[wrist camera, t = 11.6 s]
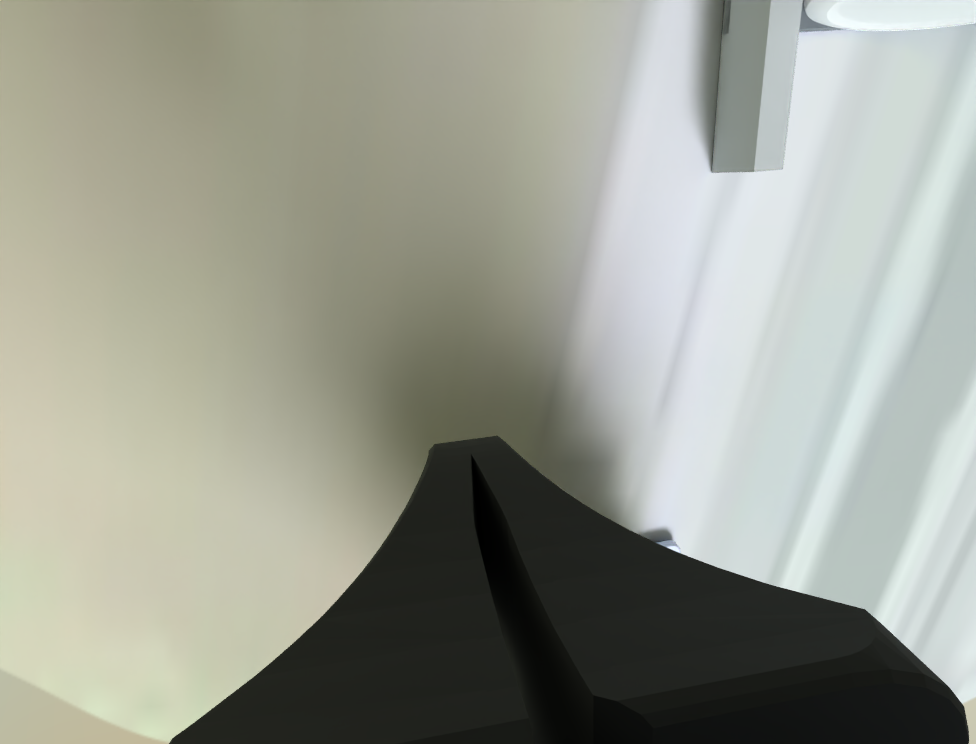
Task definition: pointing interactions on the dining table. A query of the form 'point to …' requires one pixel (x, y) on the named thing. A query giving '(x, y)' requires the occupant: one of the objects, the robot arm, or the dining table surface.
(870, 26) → the pill bottle
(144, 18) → the dining table surface
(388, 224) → the dining table surface
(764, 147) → the grey shallow rimmed tray
